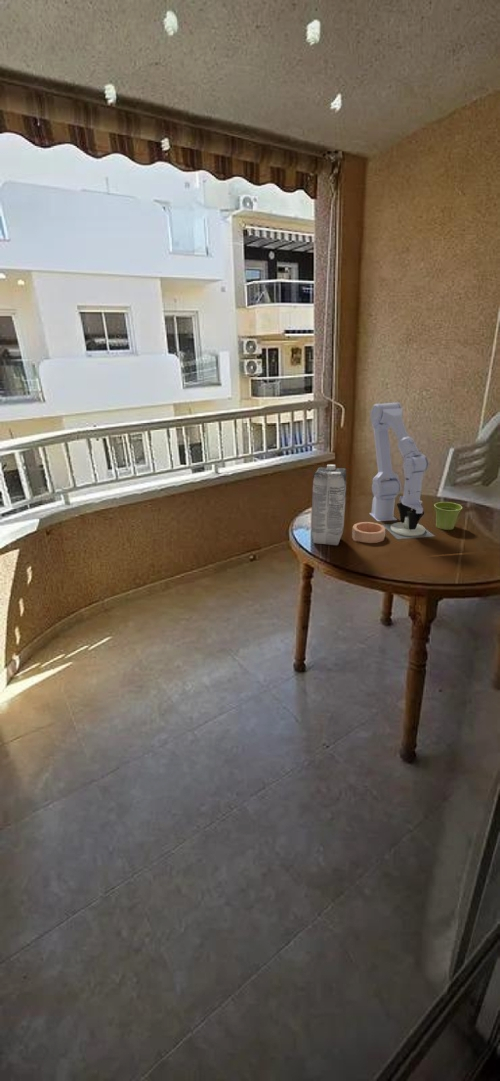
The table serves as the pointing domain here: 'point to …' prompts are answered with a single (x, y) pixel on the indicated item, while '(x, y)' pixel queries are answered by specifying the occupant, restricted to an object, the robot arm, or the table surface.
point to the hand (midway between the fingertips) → (408, 525)
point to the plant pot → (446, 514)
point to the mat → (426, 534)
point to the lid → (407, 529)
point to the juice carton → (328, 505)
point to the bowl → (368, 532)
